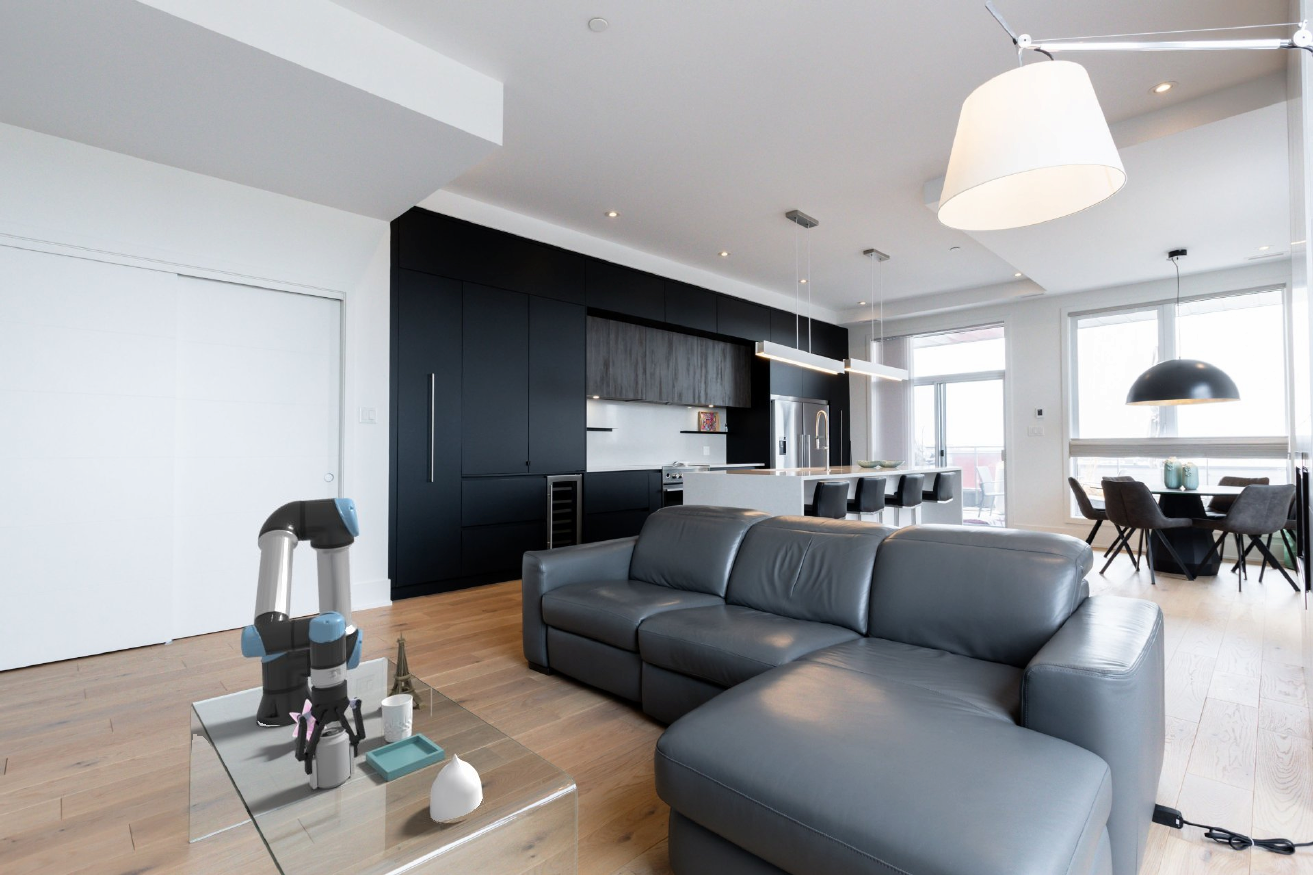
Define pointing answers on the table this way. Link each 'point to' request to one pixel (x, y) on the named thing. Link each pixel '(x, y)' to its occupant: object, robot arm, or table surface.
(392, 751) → the tray
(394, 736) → the white cup
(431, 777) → the table surface
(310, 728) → the lily
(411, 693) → the eiffel tower
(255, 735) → the table surface
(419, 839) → the table surface
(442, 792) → the teardrop
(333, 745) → the can
